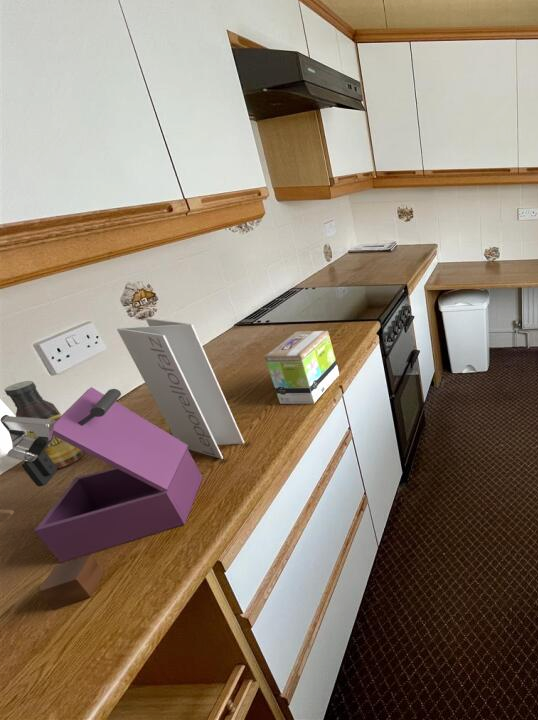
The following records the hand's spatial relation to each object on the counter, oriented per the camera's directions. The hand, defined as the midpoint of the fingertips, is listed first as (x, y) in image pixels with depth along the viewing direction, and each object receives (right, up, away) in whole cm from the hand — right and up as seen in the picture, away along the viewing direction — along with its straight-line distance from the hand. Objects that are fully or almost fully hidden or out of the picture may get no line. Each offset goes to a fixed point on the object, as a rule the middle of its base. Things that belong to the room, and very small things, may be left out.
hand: (2, 491), depth 54 cm
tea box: (+12, +6, +59) cm, 61 cm away
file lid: (+1, +3, +16) cm, 16 cm away
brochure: (-1, -5, +40) cm, 40 cm away
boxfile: (-2, -13, +22) cm, 25 cm away
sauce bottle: (-32, -8, +37) cm, 50 cm away
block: (+1, -19, +9) cm, 21 cm away
